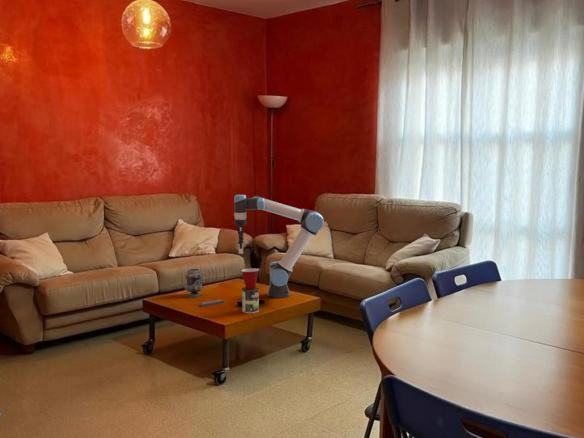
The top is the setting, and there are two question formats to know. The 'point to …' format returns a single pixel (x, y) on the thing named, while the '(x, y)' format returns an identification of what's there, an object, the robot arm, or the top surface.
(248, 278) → the plastic cup
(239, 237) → the robot arm
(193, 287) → the apothecary jar
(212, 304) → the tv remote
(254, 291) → the coffee can
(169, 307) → the top surface
